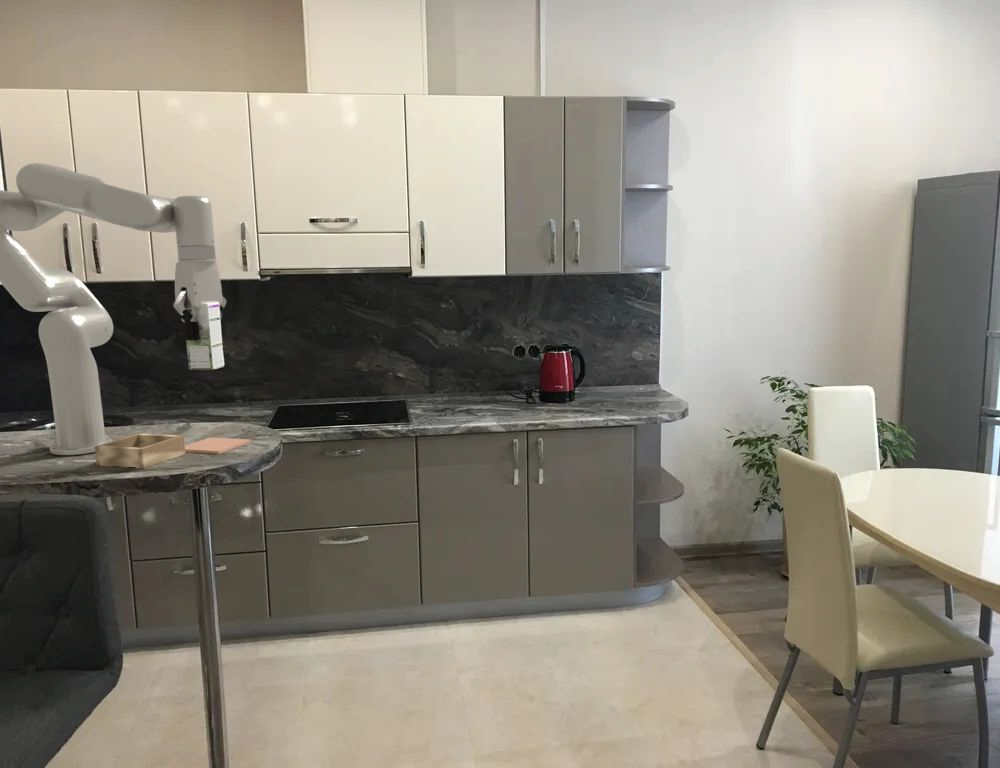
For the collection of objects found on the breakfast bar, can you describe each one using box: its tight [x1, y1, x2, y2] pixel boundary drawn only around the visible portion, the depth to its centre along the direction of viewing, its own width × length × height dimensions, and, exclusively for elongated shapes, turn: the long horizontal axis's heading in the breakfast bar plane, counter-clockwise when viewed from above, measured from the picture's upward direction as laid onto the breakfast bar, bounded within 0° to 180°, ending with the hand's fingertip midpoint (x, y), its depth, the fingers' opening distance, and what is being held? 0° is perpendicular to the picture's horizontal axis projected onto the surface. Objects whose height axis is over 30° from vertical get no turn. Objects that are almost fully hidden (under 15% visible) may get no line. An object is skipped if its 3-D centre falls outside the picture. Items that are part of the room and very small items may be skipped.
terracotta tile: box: [184, 437, 251, 455], centre depth 171 cm, size 11×11×1 cm
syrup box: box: [184, 301, 225, 370], centre depth 167 cm, size 6×6×14 cm
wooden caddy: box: [94, 433, 186, 469], centre depth 161 cm, size 12×12×4 cm
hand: (204, 337), depth 167 cm, fingers closed on syrup box, 6 cm apart
